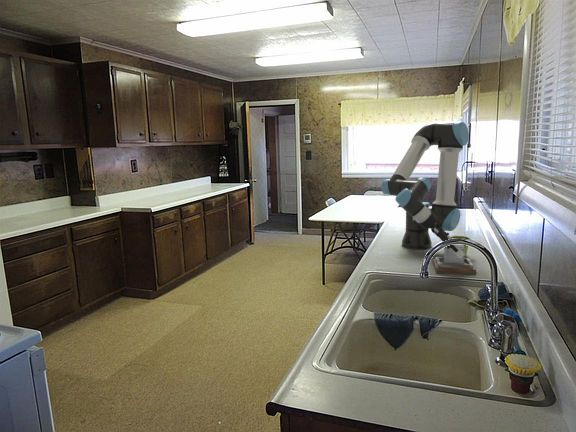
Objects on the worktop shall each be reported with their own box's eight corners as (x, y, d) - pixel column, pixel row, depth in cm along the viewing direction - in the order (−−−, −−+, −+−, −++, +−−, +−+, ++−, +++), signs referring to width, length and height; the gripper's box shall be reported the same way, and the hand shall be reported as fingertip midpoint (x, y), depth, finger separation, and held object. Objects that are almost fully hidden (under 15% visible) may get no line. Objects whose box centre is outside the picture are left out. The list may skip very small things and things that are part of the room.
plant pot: (445, 255, 208) (446, 238, 206) (455, 251, 214) (456, 234, 212) (463, 259, 201) (464, 241, 199) (473, 255, 206) (474, 238, 205)
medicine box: (462, 262, 189) (463, 244, 187) (464, 266, 185) (465, 246, 183) (443, 262, 191) (444, 243, 189) (445, 265, 186) (445, 246, 185)
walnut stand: (432, 262, 197) (432, 255, 196) (469, 264, 193) (469, 256, 193) (436, 272, 183) (436, 265, 183) (475, 274, 180) (476, 266, 179)
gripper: (416, 217, 199) (448, 249, 199) (421, 230, 176) (457, 266, 175) (428, 206, 197) (461, 238, 197) (435, 217, 173) (472, 254, 173)
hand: (459, 251), depth 186 cm, fingers open, 13 cm apart
